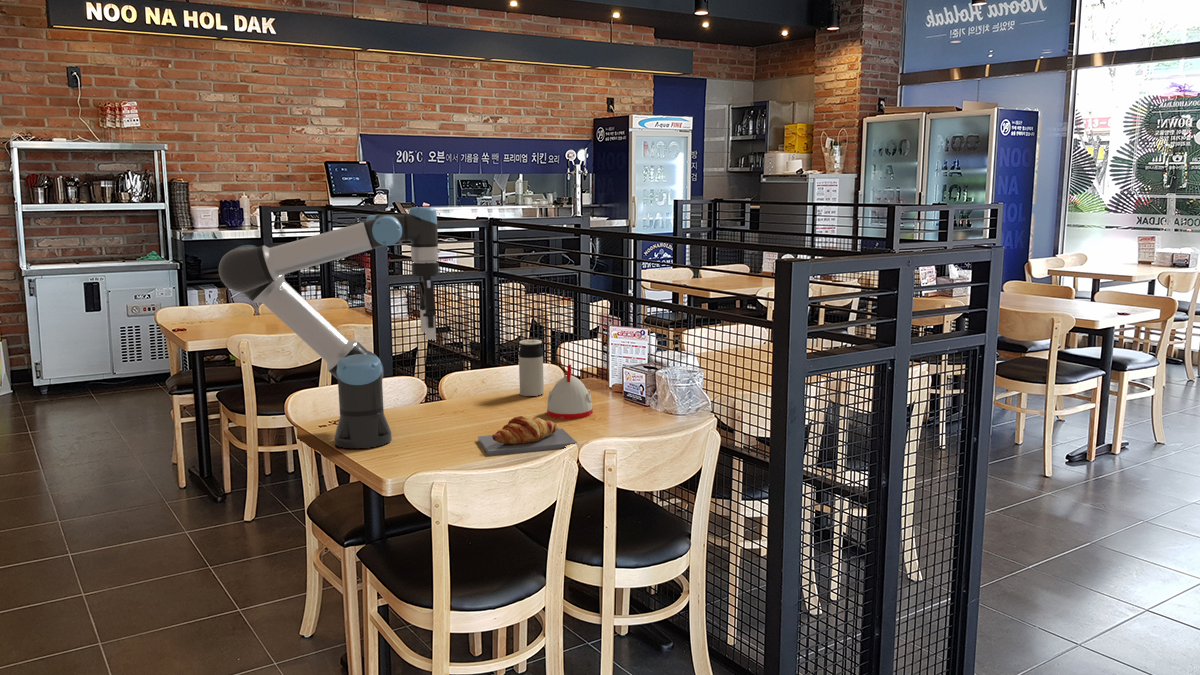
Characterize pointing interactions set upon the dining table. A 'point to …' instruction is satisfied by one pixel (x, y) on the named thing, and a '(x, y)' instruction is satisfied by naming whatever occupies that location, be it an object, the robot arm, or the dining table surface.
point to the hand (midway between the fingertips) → (428, 335)
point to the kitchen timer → (569, 398)
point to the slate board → (526, 444)
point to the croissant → (525, 430)
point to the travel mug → (531, 368)
